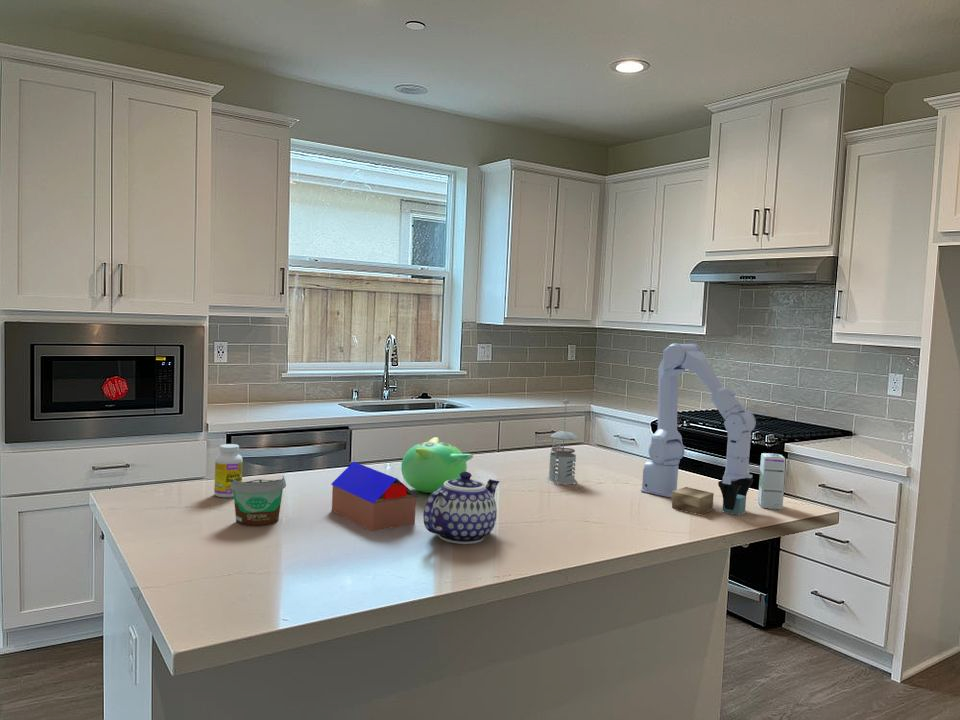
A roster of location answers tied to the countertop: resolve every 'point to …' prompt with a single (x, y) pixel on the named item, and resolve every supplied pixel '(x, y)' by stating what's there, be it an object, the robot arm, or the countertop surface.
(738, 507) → the teal cube
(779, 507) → the syrup box
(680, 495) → the slab top
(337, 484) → the house
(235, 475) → the supplement bottle
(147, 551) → the countertop surface
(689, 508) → the slab bottom
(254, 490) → the food container
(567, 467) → the french press
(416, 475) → the toy bird
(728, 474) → the robot arm
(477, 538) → the teapot
